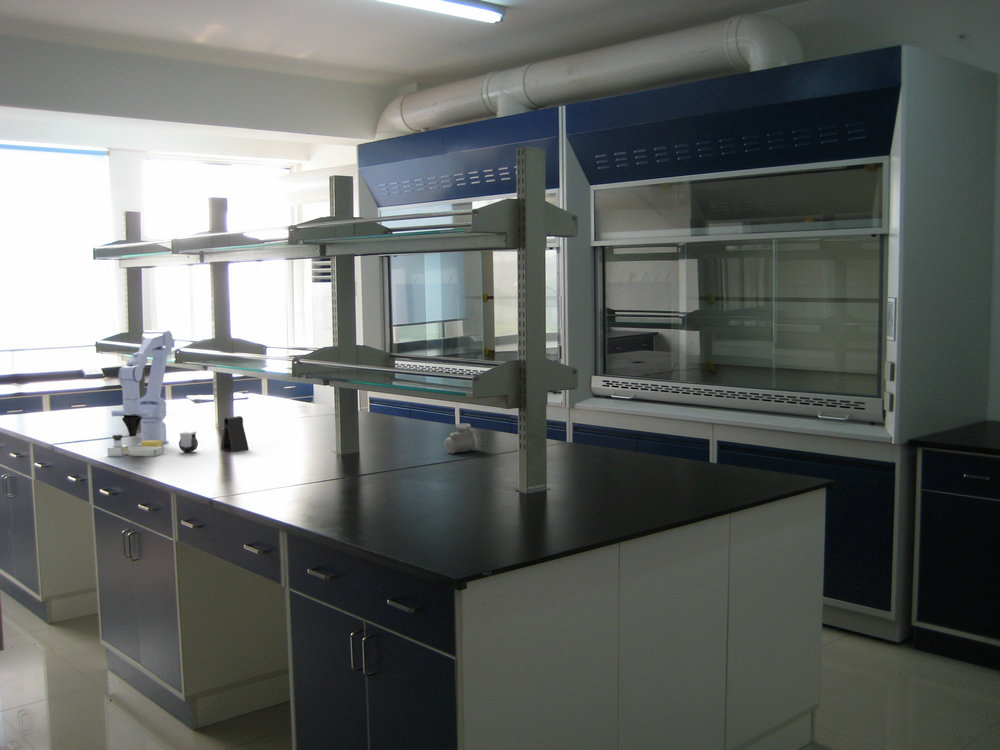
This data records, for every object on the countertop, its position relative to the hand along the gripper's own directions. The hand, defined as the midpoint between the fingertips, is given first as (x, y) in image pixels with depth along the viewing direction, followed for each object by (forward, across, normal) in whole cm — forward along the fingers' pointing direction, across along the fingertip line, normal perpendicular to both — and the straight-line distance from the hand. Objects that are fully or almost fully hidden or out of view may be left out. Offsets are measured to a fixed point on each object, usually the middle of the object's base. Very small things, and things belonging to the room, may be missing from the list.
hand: (132, 436), depth 326 cm
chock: (+6, +7, 0) cm, 9 cm away
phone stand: (+6, +36, +7) cm, 37 cm away
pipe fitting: (+6, +120, +8) cm, 120 cm away
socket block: (+6, -2, -7) cm, 9 cm away
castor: (+6, +21, 0) cm, 22 cm away
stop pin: (+6, -2, -7) cm, 9 cm away
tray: (+6, +8, -6) cm, 11 cm away
